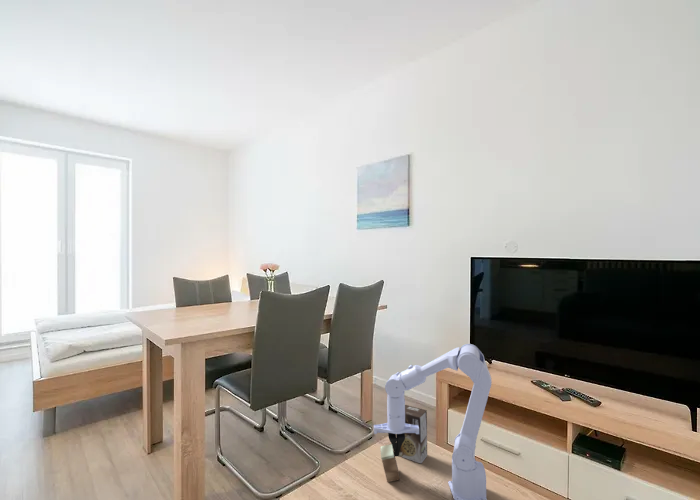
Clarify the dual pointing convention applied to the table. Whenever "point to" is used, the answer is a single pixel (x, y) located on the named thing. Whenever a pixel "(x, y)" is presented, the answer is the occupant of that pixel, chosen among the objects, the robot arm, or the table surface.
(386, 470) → the wooden block
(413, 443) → the coffee box
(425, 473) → the table surface
